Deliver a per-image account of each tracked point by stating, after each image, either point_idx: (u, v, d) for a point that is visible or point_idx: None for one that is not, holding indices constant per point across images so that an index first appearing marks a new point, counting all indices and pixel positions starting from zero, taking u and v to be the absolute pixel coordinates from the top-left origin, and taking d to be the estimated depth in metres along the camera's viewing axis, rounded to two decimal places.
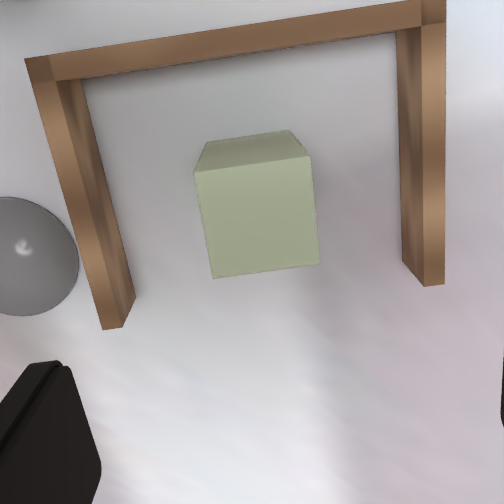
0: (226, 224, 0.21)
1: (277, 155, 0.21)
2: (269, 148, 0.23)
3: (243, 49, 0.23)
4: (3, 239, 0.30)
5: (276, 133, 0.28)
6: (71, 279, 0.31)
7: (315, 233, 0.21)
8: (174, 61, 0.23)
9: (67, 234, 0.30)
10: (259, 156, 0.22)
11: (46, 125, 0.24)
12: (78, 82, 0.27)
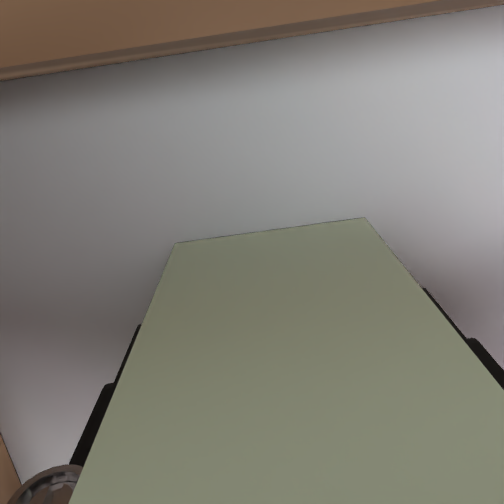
0: None
1: (412, 442, 0.05)
2: (349, 337, 0.07)
3: (265, 15, 0.07)
4: None
5: (337, 229, 0.12)
6: None
7: None
8: (43, 55, 0.07)
9: None
10: (332, 425, 0.06)
11: None
12: None
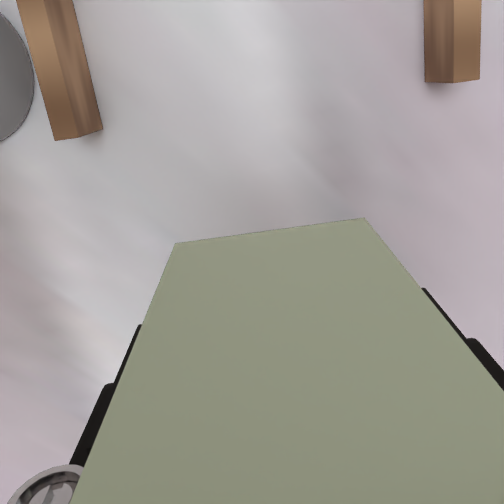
0: None
1: (411, 441, 0.05)
2: (348, 337, 0.07)
3: None
4: None
5: (337, 229, 0.12)
6: (25, 98, 0.26)
7: None
8: None
9: (18, 38, 0.25)
10: (332, 424, 0.06)
11: None
12: None
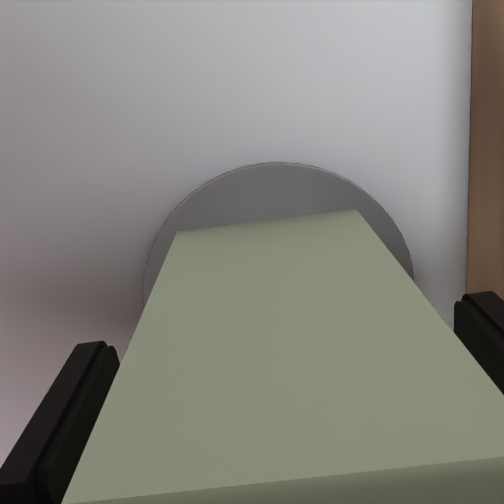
0: None
1: (386, 392, 0.06)
2: (336, 310, 0.08)
3: None
4: None
5: (329, 219, 0.13)
6: None
7: None
8: None
9: None
10: (317, 380, 0.06)
11: None
12: None
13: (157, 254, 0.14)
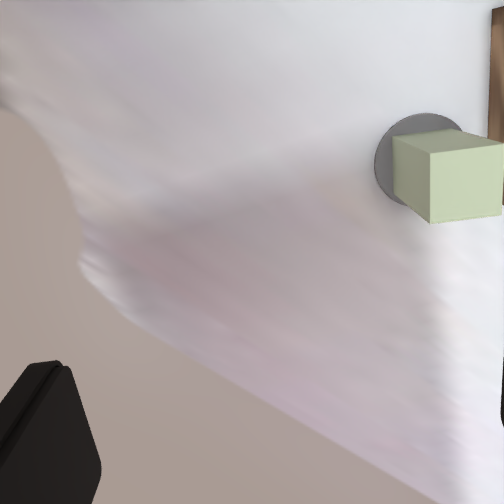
0: (445, 188, 0.33)
1: (477, 143, 0.33)
2: (460, 139, 0.35)
3: None
4: None
5: (444, 130, 0.40)
6: None
7: (501, 194, 0.33)
8: None
9: None
10: (463, 144, 0.34)
11: None
12: None
13: (384, 144, 0.41)
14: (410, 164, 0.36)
